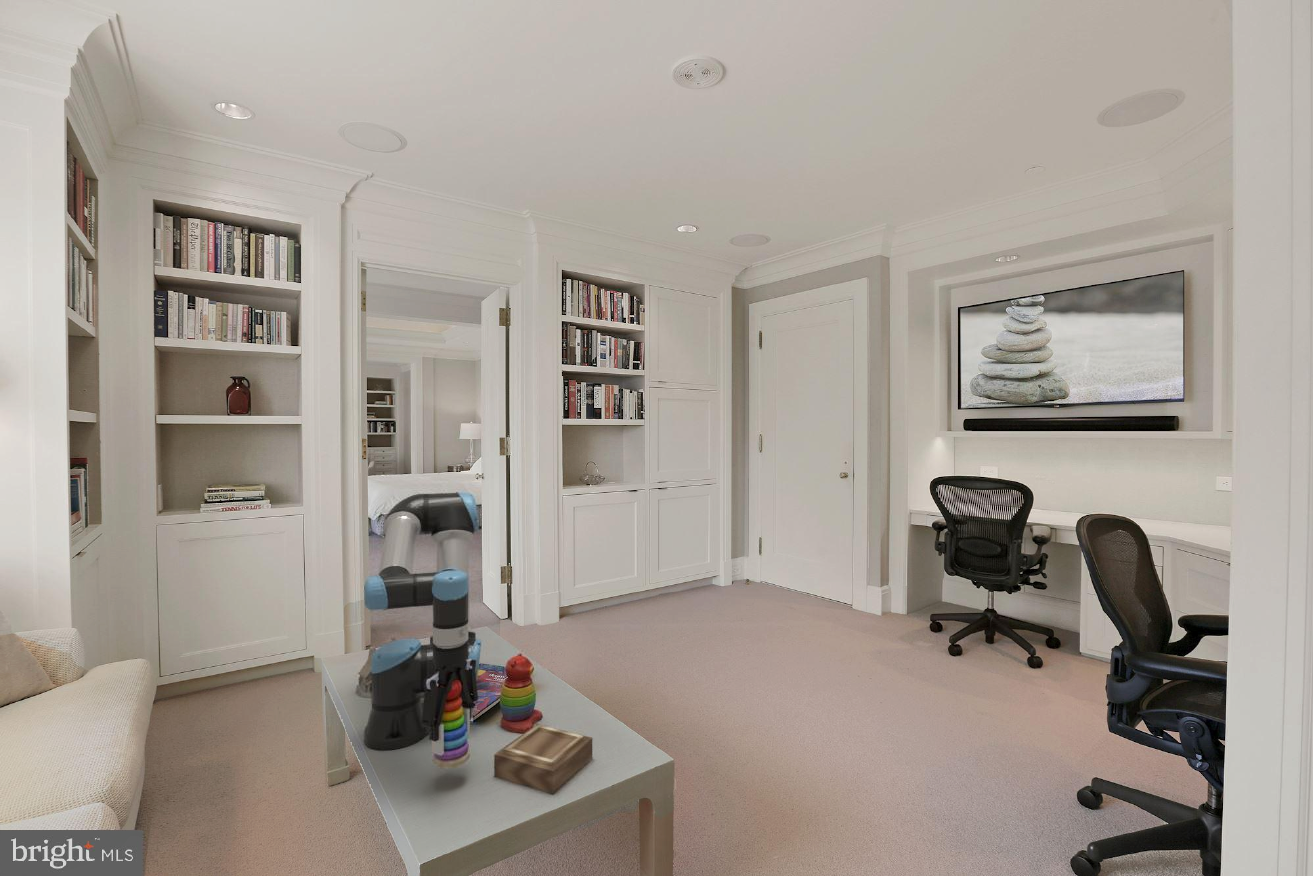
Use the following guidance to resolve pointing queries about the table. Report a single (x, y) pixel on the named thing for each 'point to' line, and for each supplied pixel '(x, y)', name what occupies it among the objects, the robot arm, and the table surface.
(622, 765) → the table surface
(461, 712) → the stacking toy
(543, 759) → the plinth
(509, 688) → the stacking bear
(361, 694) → the ceramic cottage
